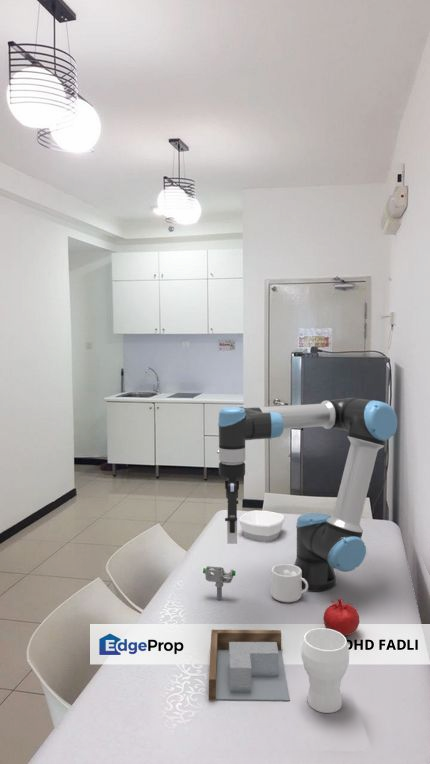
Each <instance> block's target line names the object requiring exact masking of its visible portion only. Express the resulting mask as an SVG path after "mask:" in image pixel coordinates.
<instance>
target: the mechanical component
mask: <svg viewBox="0 0 430 764" xmlns="http://www.w3.org/2000/svg"><path fill="white" fill-rule="evenodd" d="M202 573H203V574H205V575H204V576H205V580H206V581H207V582H212V583H215V584H214V585H215V587H216V600H217V599H218V600H217V601H221V600H222V599H223V592H222V591H223V587H224V583H225V584H230V583H232V581H233V578H234V577H235V576H236V570H234V569H230V571H229V572H226V571H225V568H224V567H222V566H210V565H209V566H208V565H206V567H203V570H202ZM221 598H222V599H221Z"/></svg>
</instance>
